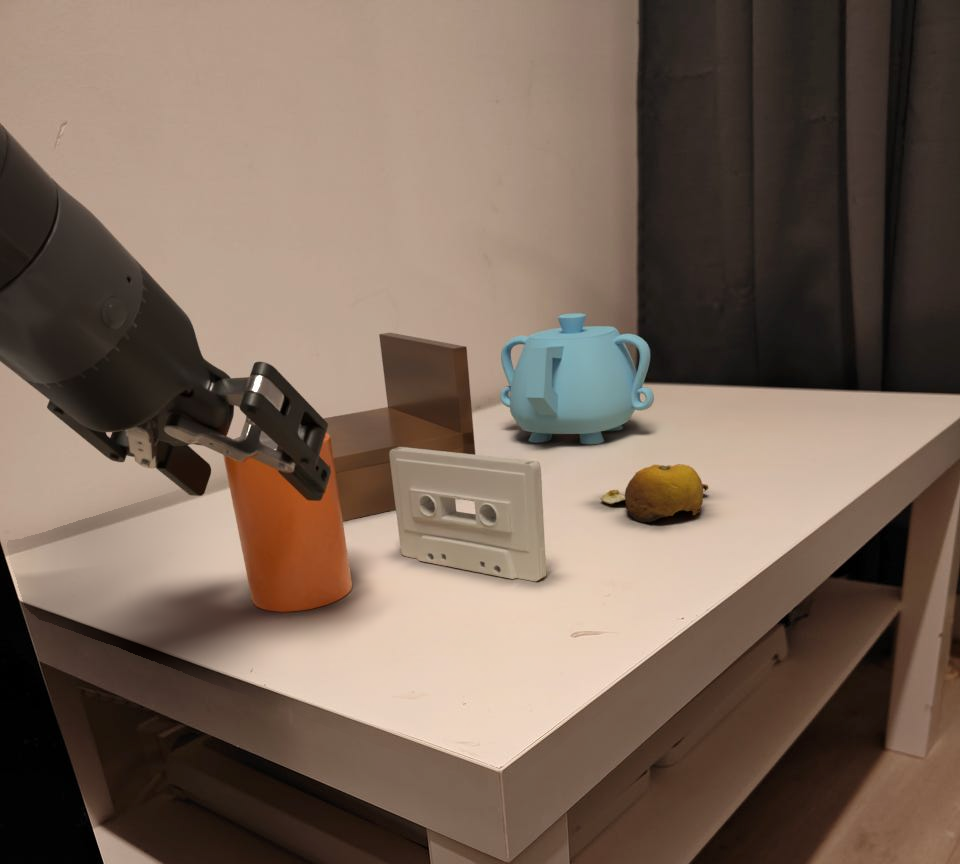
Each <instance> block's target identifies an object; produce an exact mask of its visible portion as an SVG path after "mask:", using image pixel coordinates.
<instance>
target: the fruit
mask: <svg viewBox="0 0 960 864" xmlns="http://www.w3.org/2000/svg"><path fill="white" fill-rule="evenodd" d="M708 490H709V485H708V484H705V483H703V481H702V478H701V477H700V475H699V473H698V472H697V471H696V470H695V468H693V467H692V466H690V465H688V464H680V463H677V464H674V465H670V464H667V465H661V464H652V465H651V466H647V467H643V468H642V469H640V470H638V471H636V472H635V474H634V475H633V477H632V478H631V479H630V480H629V482H628V483H627V486H626V487H625V492H624V494H622V493H621V492H620V491H619V489H612V490H609V491H608V492H606V493H605V494H603V495H602V496H601V497H600V500H601V501H603V502H604V503H606V504H610V505H614V504H615V503H619V502H624V501H625V505H626V506H625V509H626V511H627V512H628V513H629V514H630V515H631V516H632V518H633V519H634V520H635V521H638V522H640V523H652V522H654V521H657V520H658V519H661V518H663V517H664V518H665V517H667V518H668V517H673V516H674V515H675V513H678V512H679V511H684V512H685V511H686V512H690V511H691V512H692V516H696V515H697V514H699V513H701V510H700V508H701V507H702V505H703V503H704V492H706V491H708Z"/></svg>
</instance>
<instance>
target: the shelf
mask: <svg viewBox="0 0 960 864" xmlns="http://www.w3.org/2000/svg"><path fill="white" fill-rule="evenodd" d="M378 336H379V346H380V353H381V361H382V362H381V363H382V371H383V378H384V379H383V380H384V387H385V394H386V404H387V406H386V407H380V408H376V409H375V408H374V409H369V410H368V409H367V410H364V411H357V412H352V413H347V414H346V413H345V414H340V415H335V416H329V417H322V418H323V419H324V420H325V421H326V422H327V423H328V428H327V431H326V433H328V434H329V435H330V438H331V445H332V452H333V459H334V465H335V472H336V479H337V486H338V493H339V499H340V506H341V513H342V520H343V522H346V521H349V520H355V519H358V518H363V517H368V516H373V515H377V514H381V513H382V514H383V513H385V512H390V511H394V510H395V511H396V506H395V498H394V489H393V481H392V473H391V464H390V456H389V453H390V451H391V450H392V449H395V448H398V447H407V448H416V449H426V450H435V451H445V452H454V453H464V454H473V455H476V446H475V445H476V444H475V433H474V432H475V431H474V421H473V409H472V408H473V407H472V396H471V384H470V372H469V361H468V348H467V346H465V345H459V344H454V343H448V342H444V341H439V340H433V339H427V338H421V337H416V336H411V335H405V334H401V333H395V332H383V333H379V334H378ZM300 426H301V425H300Z"/></svg>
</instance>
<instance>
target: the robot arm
mask: <svg viewBox="0 0 960 864" xmlns="http://www.w3.org/2000/svg"><path fill="white" fill-rule="evenodd" d="M0 363H1V364H3V365H4V366H5V367H7V368H8V369H9V370H10V371H12V372H13V373H14V374H16V375H17V376H18V377H20V378H21V379H22V380H23V381H25V382H26V383H27V384H28V385H29V386H31V387H32V388H34V389H35V390H36V391H38V393H40V394H41V395H43V396H44V397H45V398H46V399H48V402H47V406H46V408H47V410H48V411H49V412H51V414H53V415H54V416H56V417H57V418H58V419H59V420H60V421H62V422H63V423H64V424H65V425H66V426H68V427H69V428H70V429H71V430H73V431H74V432H75V433H76V434H77V435H78V436H80V437H81V438H82V439H84V440H85V441H86V442H87V443H88V444H90V445H91V446H92V447H94V449H96V450H97V451H98V452H100V453H101V455H103V456H104V457H106V458H107V459H109V460H111V461H112V462H115V463H124V462H125V461H126V460H127V459H126V458H127V457H132V458H134V461H135V462H136V463H137V464H138V465H139V466H141V467H143V468H146V469H156V470H157V471H158V472H160V473H161V474H162V475H164V476H165V477H166V478H168V479H169V480H170V481H171V482H173V484H175V485H176V486H178V487H179V488H180V489H181V490H182V491H184V492H185V493H186V494H187V495H189V496H194V497H195V496H196V497H200V496H203V495H204V494H205V493H206V490H207V488H208V483H209V481H210V478H211V474H212V467H211V464H210V463H209V462H208V461H207V460H206V459H204V458H203V457H202V456H201V455H200V454H199V453H197V451H195V450H194V449H193V448H192V447H190V445H195V446H202V447H205V448H207V449H209V450H212V451H214V452H217V453H218V454H221V455H222V456H223V455H225V456H227V457H230V458H232V459H234V460H236V461H239V462H245V461H247V460H248V459H250V458H252V459H255V460H257V461H259V462H262V463H264V464H266V465H268V466H270V467H273V468H275V469H277V470H278V472H279V473H280V474H281V475H282V476H283V477H284V478H285V479H286V480H287V481H288V482H289V483H290V484H291V485H292V486H293V487H294V488H295V489H296V490H297V491H298V492H299V493H300V494H301V495H302V496H303V497H304V498H306V499H307V500H310V501H320V500H321V499H322V497H323V494H324V493H325V491H326V488H327V484H328V481H329V478H330V474H331V469H330V467H329V466H328V465H327V463H325V461H324V460H323V459H321V457H320V456H319V454H320V451H321V448H322V444H323V441H324V438H325V434H326V431H327V428H328V423H327V422H326V421H325V420H324V419H323V418H324V417H322V416H321V414H320V413H319V412H318V411H317V410H316V409H315V408H314V407H313V406H312V405H311V404H310V403H309V401H307V399H305V398H304V396H302V394H301V393H299V391H298V390H297V389H296V388H295V387H294V386H293V385H292V384H291V383H290V382H289V381H288V379H286V377H285V376H283V375H282V374H281V373H280V372H279V370H278V369H277V368H276V367H274V366H273V365H272V364H270V363H268V362H264V361H256V362H254V363H253V366H252V368H251V371H250V374H249V376H244V377H231V376H230V375H229V374H228V373H227V372H225V371H223V370H222V369H220V368H218V367H217V366H215V365H213V364H212V363H211V362H209V360H206V359H205V358H204V356H203V354H202V352H201V349H200V346H199V342H198V338H197V335H196V332H195V329H194V325H193V323H192V320H191V319H190V318H189V315H188V314H187V313H186V312H185V311H184V310H183V308H181V307H180V305H179V304H178V303H177V302H176V301H175V300H174V299H173V298H172V297H171V296H170V295H169V293H168V292H166V290H165V289H163V287H162V286H161V285H160V284H159V283H158V281H156V280H155V278H153V277H152V276H151V274H150V273H149V272H148V270H146V268H144V267H143V265H142V264H141V263H140V262H139V261H138V260H137V259H136V258H135V257H134V256H133V255H132V254H131V253H130V251H128V249H127V248H125V246H124V245H123V244H122V243H121V242H120V241H119V240H118V239H117V238H116V236H115V235H114V234H113V233H112V232H111V231H110V230H109V229H108V228H107V227H106V226H105V224H104V223H103V222H102V221H100V220H99V218H98V217H97V216H96V215H95V214H94V213H93V212H92V211H91V210H89V209H88V208H87V207H86V206H85V205H84V204H83V203H81V201H79V200H77V199H76V198H75V197H74V196H72V195H71V194H70V193H69V192H68V191H67V190H65V189H64V188H63V187H62V186H61V185H60V184H59V183H58V182H57V181H56V180H55V179H54V178H53V177H52V176H51V175H50V174H49V173H48V172H47V171H46V170H45V169H44V168H43V166H41V164H39V162H38V161H37V160H36V159H35V157H33V156H32V155H31V154H30V153H29V152H28V151H27V150H26V148H25V147H23V146H22V145H21V143H20V142H19V141H18V139H16V138H15V137H14V135H13V134H12V133H10V132H9V130H8V129H7V128H6V127H5V126H4V125H3V124H2V123H1V122H0ZM235 406H236V407H237V408H238V409H239V410H240V412H241V413H242V414H244V415H245V421H244V424H243V427H242V430H241V433H240V436H239V437H240V439H239V441H237V440H234V439H235V438H231V437H229V436H228V434H229V431H230V429H231V425H232V422H233V419H234V414H235ZM300 425H301V426H300ZM261 431H263V432H264V433H265V434H266V435H267V436H269V437H270V438H271V439H272V440H273V441H274V442H275V443H276V444H277V445H278V446H277V449H276V450H274V449H272V448H270V447H267V446H265V445H263V444H262V443H261V442H260V439H259V438H260V434H261ZM107 433H111V435H110V436H108V434H107Z"/></svg>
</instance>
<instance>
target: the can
mask: <svg viewBox="0 0 960 864" xmlns="http://www.w3.org/2000/svg"><path fill="white" fill-rule="evenodd" d="M233 439H234V440H237V441H239V439H240V436H238V437H236V438H233ZM259 439H260V442H261V443H262V444H263V445H265V446H267V447H270V448H272V449H274V450H276V449H277V446H278V445H277V444H276V443H275V442H274V441H273V440H272V439H271V438H270V437H269V436H267V435H266V434H265V433H264V432H263V431H261V434H260V438H259ZM222 456H223V460H224V465H225V472H226V476H227V481H228V486H229V491H230V496H231V501H232V507H233V511H234V515H235V522H236V527H237V531H238V537H239V541H240V546H241V553H242V557H243V561H244V567H245V573H246V577H247V583H248V587H249V591H250V593H249V594H250V597H251V602H252V603H253V605H254V606H256V607H257V608H259V609H262V610H264V611H265V610H266V611H270V612H282V613H286V612H287V613H289V612H300V611H307V610H312V609H316V608H317V609H318V608H320V607H323V606H327V605H330V604H332V603H334V602H337V601H340V600H341V599H343V598H344V597H345V596H346V595H348V594H349V593H350V592H351V590H352V588H353V581H352V574H351V567H350V561H349V555H348V554H349V553H348V548H347V541H346V533H345V527H344V521H343V520H342V513H341V506H340V499H339V493H338V486H337V479H336V472H335V465H334V459H333V452H332V445H331V438H330V435H329V434H328V433H326V434H325V438H324V441H323V444H322V448H321V451H320V454H319V456H320V457H321V459H323V460H324V461H325V463H327V465H328V466H329V467H330V469H331V474H330V478H329V481H328V484H327V488H326V491H325V493H324V494H323V497H322V499H321V500H320V501H310V500H307V499H306V498H304V497H303V496H302V495H301V494H300V493H299V492H298V491H297V490H296V489H295V488H294V487H293V486H292V485H291V484H290V483H289V482H288V481H287V480H286V479H285V478H284V477H283V476H282V475H281V474H280V473H279V472H278V470H277V469H275V468H273V467H270V466H268V465H266V464H264V463H262V462H259V461H257V460H255V459H252V458H250V459H248V460H247V461H245V462H239V461H236V460H234V459H232V458H230V457H227V456H225V455H223V454H222Z"/></svg>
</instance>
